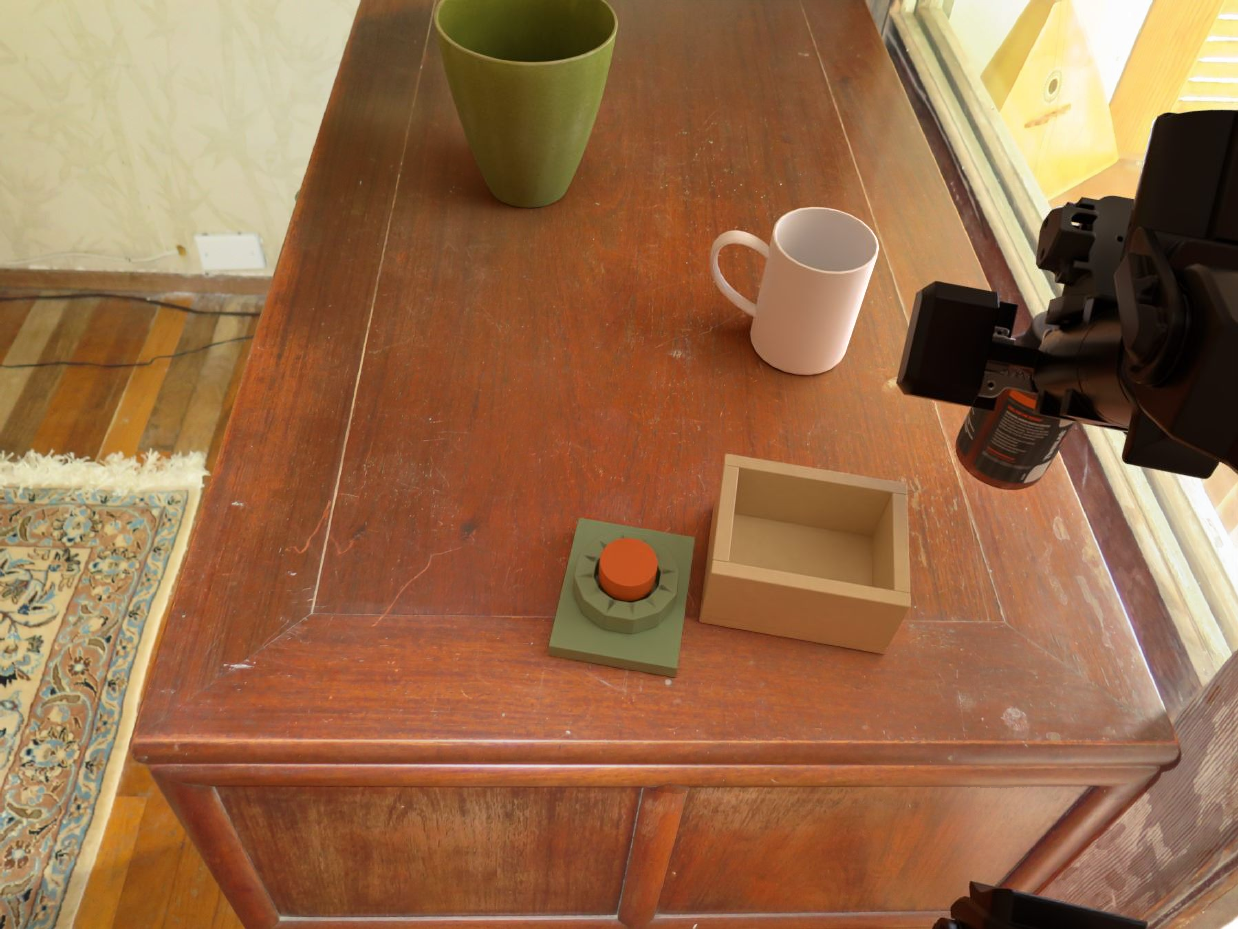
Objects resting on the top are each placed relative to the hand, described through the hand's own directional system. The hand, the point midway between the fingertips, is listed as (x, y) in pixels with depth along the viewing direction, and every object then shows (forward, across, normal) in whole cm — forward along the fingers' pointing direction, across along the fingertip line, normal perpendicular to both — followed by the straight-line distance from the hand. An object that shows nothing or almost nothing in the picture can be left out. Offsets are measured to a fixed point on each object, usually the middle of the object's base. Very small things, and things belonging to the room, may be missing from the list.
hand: (1034, 374), depth 61 cm
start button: (-2, +22, +17) cm, 28 cm away
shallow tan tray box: (+3, +11, +16) cm, 20 cm away
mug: (+19, +16, 0) cm, 25 cm away
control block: (0, +22, +19) cm, 29 cm away
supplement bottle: (+4, 0, +6) cm, 7 cm away
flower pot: (+29, +40, -11) cm, 51 cm away
